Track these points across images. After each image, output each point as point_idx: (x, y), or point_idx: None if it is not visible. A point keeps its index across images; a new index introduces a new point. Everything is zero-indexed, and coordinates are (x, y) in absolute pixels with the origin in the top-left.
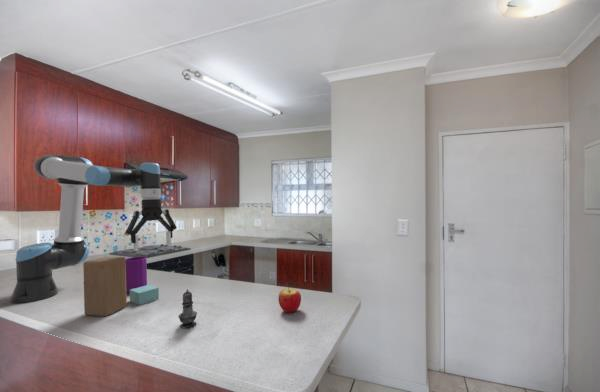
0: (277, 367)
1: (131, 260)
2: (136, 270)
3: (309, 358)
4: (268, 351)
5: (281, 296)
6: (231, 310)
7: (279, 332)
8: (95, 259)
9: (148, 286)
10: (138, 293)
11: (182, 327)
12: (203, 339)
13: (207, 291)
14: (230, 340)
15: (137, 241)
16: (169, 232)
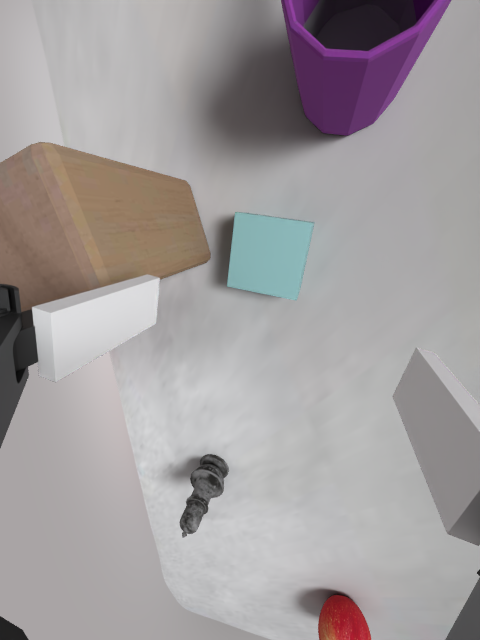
0: (191, 589)
1: (295, 25)
2: (319, 91)
3: (220, 613)
4: (211, 580)
5: (322, 635)
6: (303, 509)
7: (258, 588)
8: None
9: (293, 246)
10: (227, 283)
11: (202, 464)
12: None
13: None
14: (209, 539)
15: (101, 350)
16: (449, 521)
